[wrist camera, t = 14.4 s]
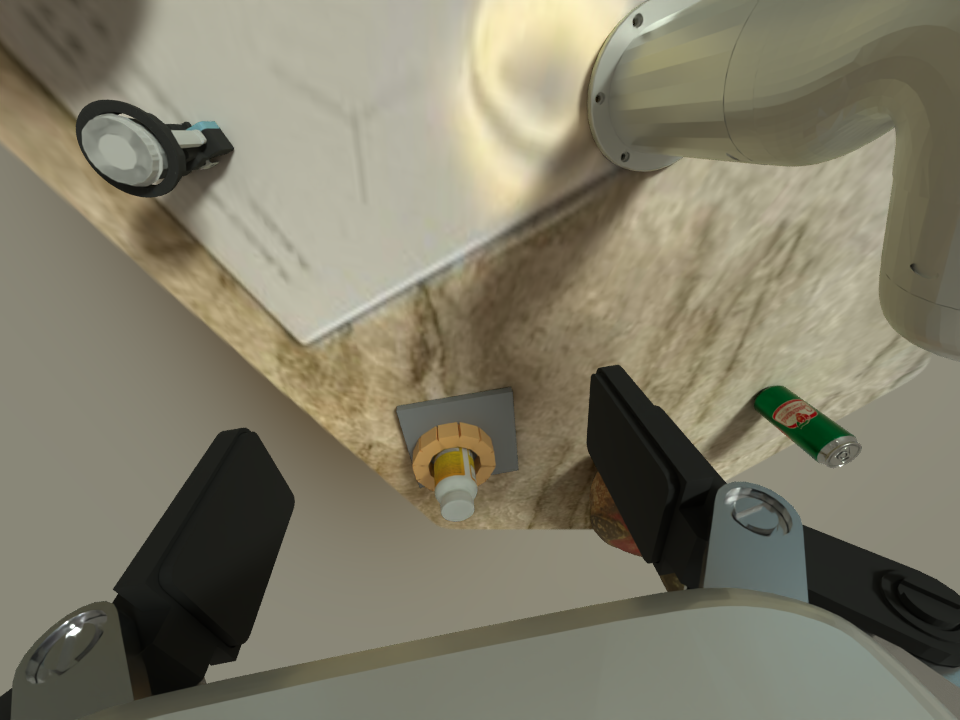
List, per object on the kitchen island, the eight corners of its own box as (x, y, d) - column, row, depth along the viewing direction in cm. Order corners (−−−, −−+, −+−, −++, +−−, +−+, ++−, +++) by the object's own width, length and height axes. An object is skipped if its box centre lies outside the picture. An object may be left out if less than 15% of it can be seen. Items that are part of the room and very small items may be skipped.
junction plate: (510, 386, 48) (512, 391, 47) (517, 464, 56) (518, 470, 55) (396, 406, 47) (396, 411, 46) (419, 482, 55) (419, 487, 55)
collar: (488, 416, 49) (491, 429, 47) (495, 471, 55) (498, 485, 53) (406, 430, 48) (405, 444, 46) (422, 485, 54) (422, 499, 52)
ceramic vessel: (640, 385, 51) (792, 563, 30) (694, 477, 64) (827, 647, 43) (536, 446, 55) (607, 644, 34) (607, 521, 68) (691, 698, 46)
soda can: (779, 377, 54) (861, 434, 44) (788, 396, 56) (868, 454, 46) (746, 397, 55) (819, 457, 45) (757, 415, 57) (828, 475, 47)
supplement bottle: (479, 446, 52) (489, 505, 44) (457, 470, 54) (463, 530, 46) (447, 432, 49) (452, 491, 41) (425, 457, 51) (426, 518, 43)
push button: (189, 200, 33) (108, 224, 24) (135, 136, 30) (21, 137, 21) (251, 164, 32) (189, 175, 23) (201, 94, 29) (110, 79, 20)
